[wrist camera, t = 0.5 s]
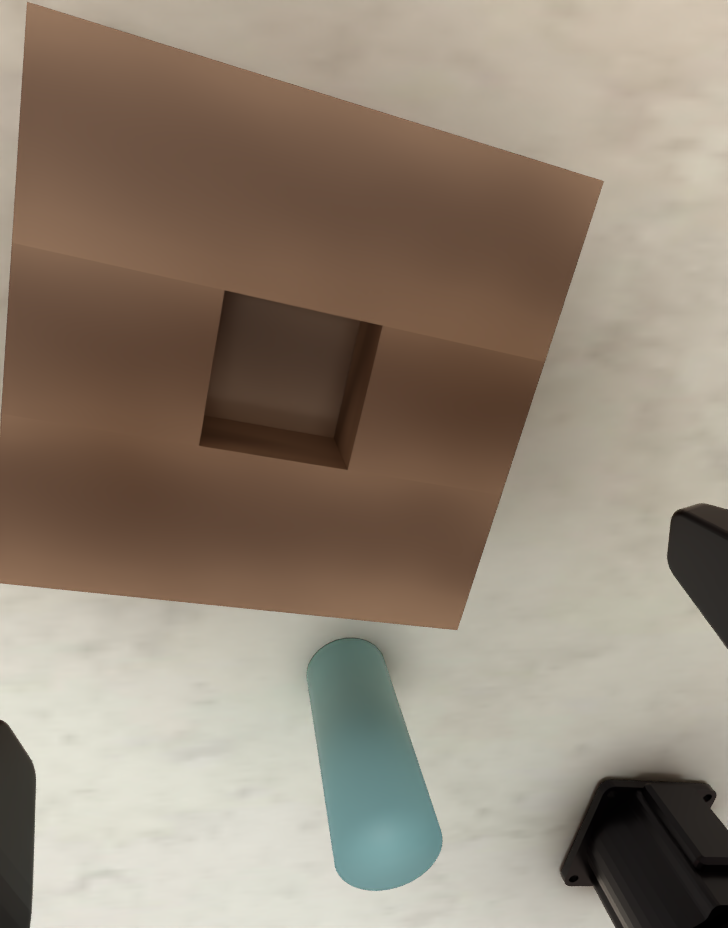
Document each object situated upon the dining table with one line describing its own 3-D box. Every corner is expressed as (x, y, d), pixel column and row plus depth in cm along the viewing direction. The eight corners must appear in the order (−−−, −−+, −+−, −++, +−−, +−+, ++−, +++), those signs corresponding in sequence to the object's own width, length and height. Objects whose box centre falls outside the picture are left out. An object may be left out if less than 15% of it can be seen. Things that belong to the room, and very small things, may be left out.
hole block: (424, 569, 25) (457, 629, 21) (33, 520, 21) (-10, 582, 18) (538, 189, 21) (603, 181, 17) (72, 49, 17) (27, 1, 13)
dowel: (374, 706, 27) (426, 890, 19) (299, 701, 26) (323, 891, 18) (393, 641, 26) (455, 809, 18) (315, 634, 25) (348, 807, 18)
